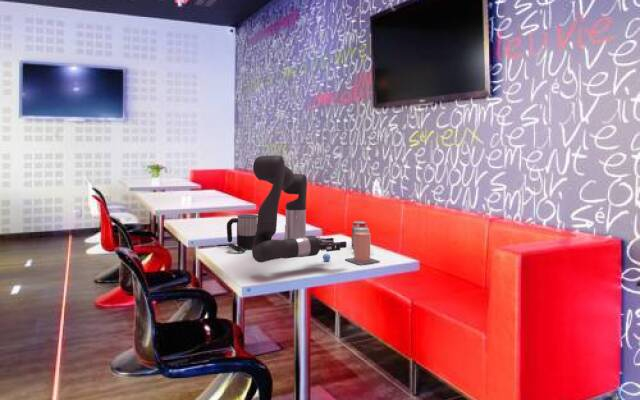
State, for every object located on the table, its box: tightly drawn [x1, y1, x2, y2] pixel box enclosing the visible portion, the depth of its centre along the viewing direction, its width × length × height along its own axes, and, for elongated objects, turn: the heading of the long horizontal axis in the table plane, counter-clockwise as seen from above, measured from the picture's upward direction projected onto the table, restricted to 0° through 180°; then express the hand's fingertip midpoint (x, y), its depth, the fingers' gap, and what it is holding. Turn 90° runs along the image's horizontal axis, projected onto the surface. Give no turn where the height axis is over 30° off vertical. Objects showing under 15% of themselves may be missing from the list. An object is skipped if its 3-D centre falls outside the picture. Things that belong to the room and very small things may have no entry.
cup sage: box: [354, 227, 370, 241], centre depth 216 cm, size 6×6×11 cm
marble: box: [322, 253, 331, 262], centre depth 202 cm, size 3×3×3 cm
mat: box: [344, 257, 381, 267], centre depth 202 cm, size 10×10×1 cm
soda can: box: [351, 220, 368, 249], centre depth 227 cm, size 7×7×12 cm
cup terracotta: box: [353, 231, 372, 262], centre depth 201 cm, size 6×6×11 cm
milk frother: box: [226, 213, 258, 253], centre depth 220 cm, size 14×16×15 cm
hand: (339, 242), depth 194 cm, fingers open, 8 cm apart
